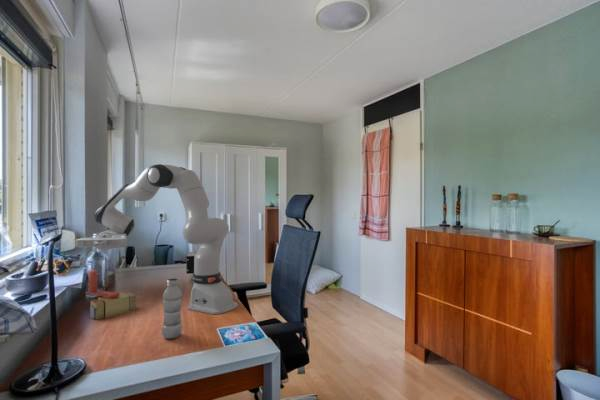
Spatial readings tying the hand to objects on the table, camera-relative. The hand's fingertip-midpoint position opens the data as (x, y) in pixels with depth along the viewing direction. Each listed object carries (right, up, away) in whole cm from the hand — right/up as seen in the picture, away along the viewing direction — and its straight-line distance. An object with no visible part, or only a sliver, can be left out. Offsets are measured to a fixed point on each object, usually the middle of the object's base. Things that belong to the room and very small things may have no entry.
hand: (97, 244), depth 138 cm
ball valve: (+30, -27, +41) cm, 57 cm away
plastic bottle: (+45, -28, -30) cm, 61 cm away
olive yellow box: (+12, -27, -8) cm, 31 cm away
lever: (+7, -20, -7) cm, 23 cm away
